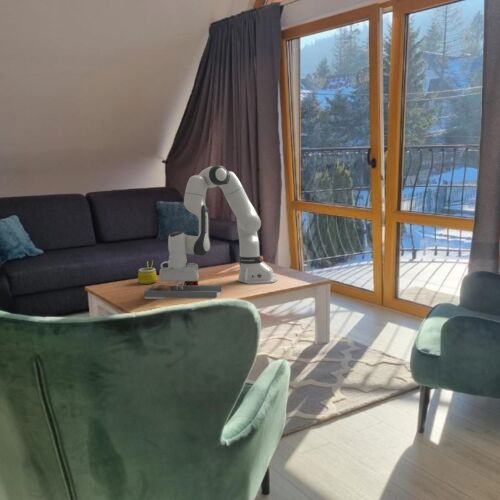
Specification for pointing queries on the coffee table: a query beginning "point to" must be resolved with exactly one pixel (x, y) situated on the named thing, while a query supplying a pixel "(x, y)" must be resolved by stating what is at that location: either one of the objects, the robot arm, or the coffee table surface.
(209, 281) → the coffee table surface
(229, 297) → the coffee table surface
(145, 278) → the mug
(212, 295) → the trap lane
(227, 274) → the coffee table surface
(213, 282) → the coffee table surface
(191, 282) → the red wheeled piece
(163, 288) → the walnut block
